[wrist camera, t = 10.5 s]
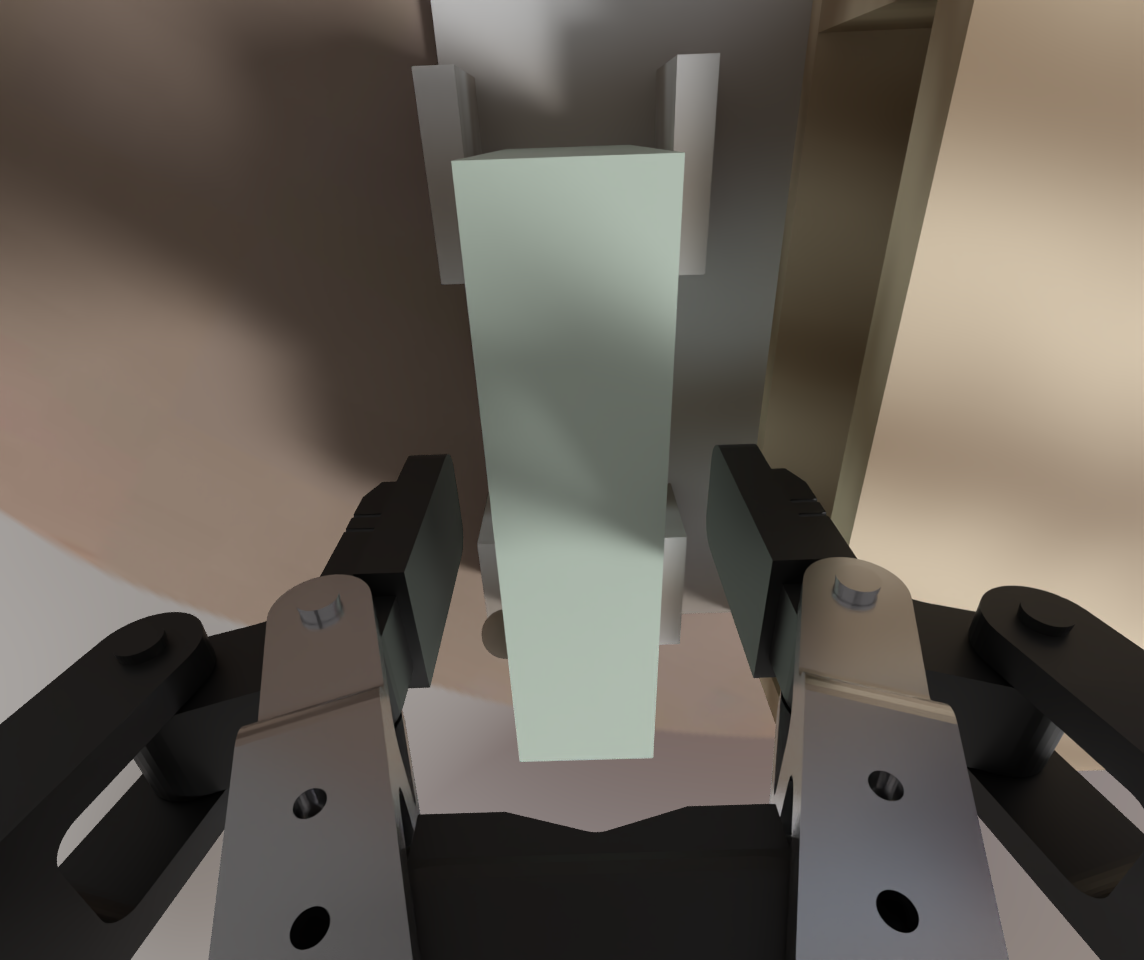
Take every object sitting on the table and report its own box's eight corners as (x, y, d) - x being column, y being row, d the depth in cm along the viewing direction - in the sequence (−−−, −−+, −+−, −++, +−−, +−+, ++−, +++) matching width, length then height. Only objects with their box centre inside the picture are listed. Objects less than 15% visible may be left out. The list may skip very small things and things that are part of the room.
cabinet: (433, 0, 14) (328, -109, 8) (1353, -40, 13) (2005, -186, 7) (505, 612, 23) (483, 788, 16) (1061, 593, 22) (1247, 765, 16)
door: (464, 150, 15) (373, 164, 8) (628, 144, 15) (685, 152, 8) (506, 551, 21) (475, 763, 14) (623, 548, 21) (652, 758, 14)
